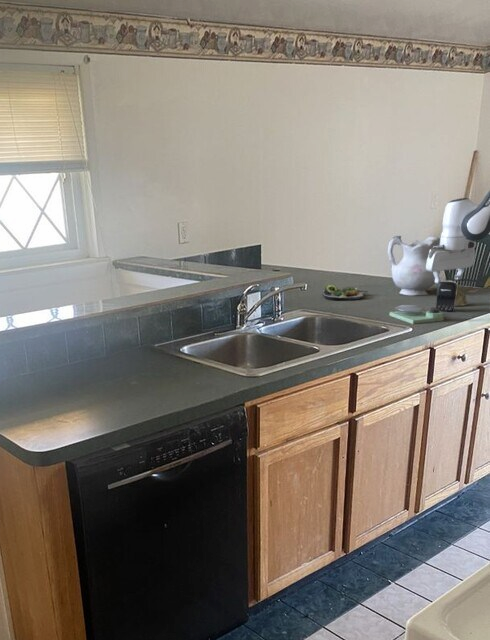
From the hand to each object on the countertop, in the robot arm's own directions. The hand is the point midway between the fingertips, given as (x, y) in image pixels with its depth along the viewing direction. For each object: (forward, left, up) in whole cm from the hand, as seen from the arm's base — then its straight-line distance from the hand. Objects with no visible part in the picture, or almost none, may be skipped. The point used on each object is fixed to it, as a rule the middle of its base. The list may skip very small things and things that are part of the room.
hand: (447, 281), depth 250 cm
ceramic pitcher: (+35, -9, -12) cm, 38 cm away
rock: (+7, -9, -12) cm, 16 cm away
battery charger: (0, 0, -12) cm, 12 cm away
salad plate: (+42, +21, -12) cm, 48 cm away
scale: (-5, +16, -12) cm, 20 cm away
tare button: (-10, +12, -9) cm, 18 cm away
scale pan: (-3, +17, -9) cm, 20 cm away
